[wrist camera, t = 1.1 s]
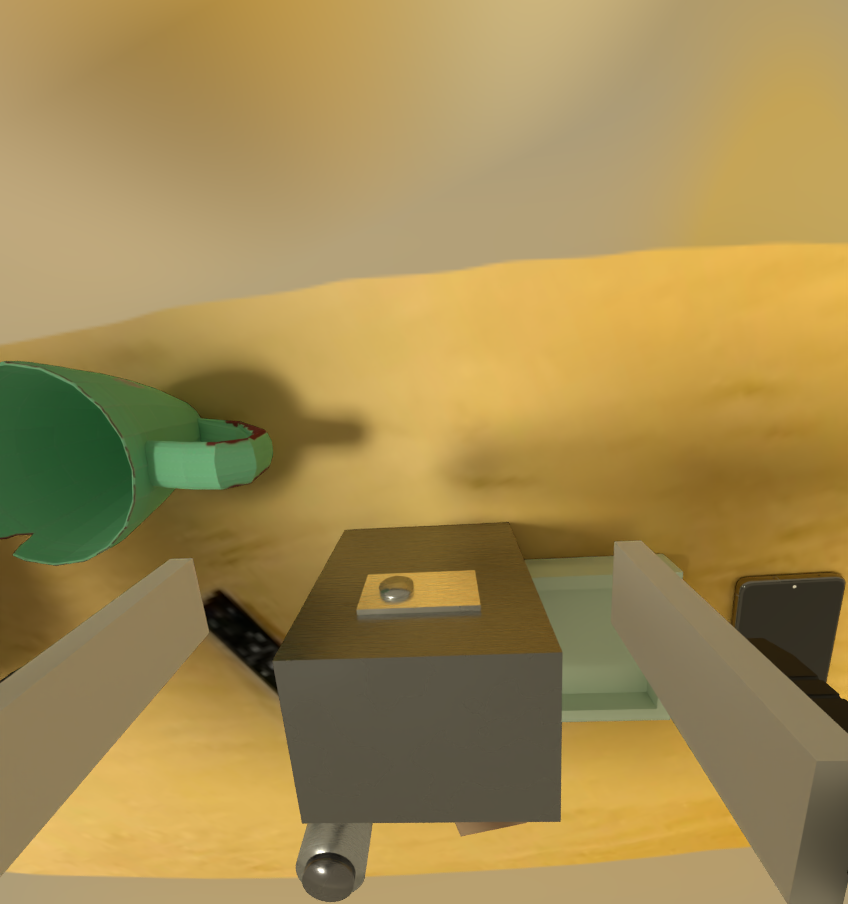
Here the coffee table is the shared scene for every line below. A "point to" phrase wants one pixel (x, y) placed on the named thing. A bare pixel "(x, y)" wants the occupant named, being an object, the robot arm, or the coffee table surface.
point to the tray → (593, 642)
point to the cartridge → (333, 859)
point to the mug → (104, 458)
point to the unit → (424, 682)
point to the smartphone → (792, 614)
